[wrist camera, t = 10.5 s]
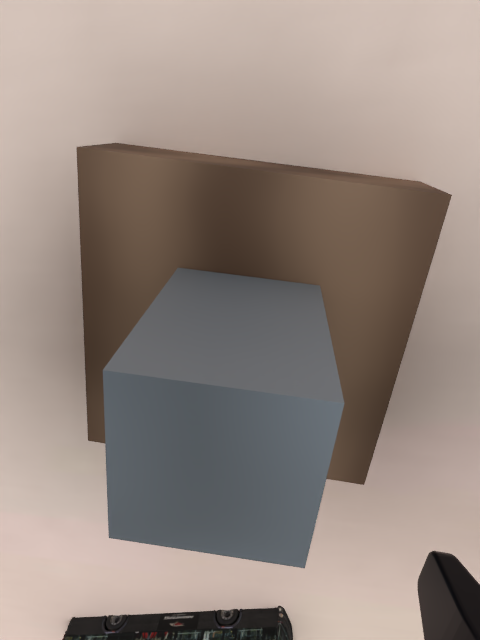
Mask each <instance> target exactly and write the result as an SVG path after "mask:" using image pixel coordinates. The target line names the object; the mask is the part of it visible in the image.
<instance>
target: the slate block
mask: <svg viewBox="0 0 480 640" xmlns="http://www.w3.org/2000/svg"><path fill="white" fill-rule="evenodd" d="M103 390H104V417H105V444H106V471H107V498H108V525H109V538H113V539H120V540H126V541H133V542H139V543H146V544H152V545H159V546H165V547H171V548H178V549H184V550H191V551H197V552H204V553H210V554H217V555H223V556H229V557H236V558H242V559H249V560H255V561H262V562H268V563H275V564H281V565H287V566H294V567H300V568H305V565H306V560H307V556H308V552H309V548H310V544H311V540H312V536H313V531H314V527H315V523H316V519H317V515H318V511H319V507H320V502H321V498H322V494H323V490H324V486H325V482H326V478H327V473H328V469H329V465H330V461H331V457H332V453H333V449H334V444H335V440H336V436H337V432H338V428H339V424H340V420H341V415H342V411H343V407H344V399H343V394H342V389H341V384H340V380H339V375H338V370H337V365H336V360H335V355H334V351H333V346H332V341H331V336H330V331H329V326H328V322H327V317H326V312H325V307H324V302H323V297H322V293H321V288H320V286H319V285H312V284H304V283H296V282H288V281H280V280H272V279H264V278H256V277H248V276H240V275H232V274H224V273H216V272H209V271H201V270H193V269H185V268H177V270H176V271H175V272H174V274H173V275H172V276H171V278H170V279H169V280H168V282H167V283H166V285H165V286H164V287H163V289H162V290H161V291H160V293H159V294H158V295H157V297H156V298H155V300H154V301H153V302H152V304H151V305H150V306H149V308H148V309H147V310H146V312H145V313H144V315H143V316H142V317H141V319H140V320H139V321H138V323H137V324H136V325H135V327H134V328H133V330H132V331H131V332H130V334H129V335H128V336H127V338H126V339H125V340H124V342H123V343H122V345H121V346H120V347H119V349H118V350H117V351H116V353H115V354H114V355H113V357H112V358H111V360H110V361H109V362H108V364H107V365H106V366H105V368H104V369H103Z"/></svg>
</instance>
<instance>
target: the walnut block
mask: <svg viewBox="0 0 480 640" xmlns="http://www.w3.org/2000/svg"><path fill="white" fill-rule="evenodd" d="M77 167H78V192H79V218H80V244H81V269H82V295H83V320H84V346H85V371H86V397H87V423H88V441H94V442H100V443H105V417H104V390H103V369H104V368H105V366H106V365H107V364H108V362H109V361H110V360H111V358H112V357H113V355H114V354H115V353H116V351H117V350H118V349H119V347H120V346H121V345H122V343H123V342H124V340H125V339H126V338H127V336H128V335H129V334H130V332H131V331H132V330H133V328H134V327H135V325H136V324H137V323H138V321H139V320H140V319H141V317H142V316H143V315H144V313H145V312H146V310H147V309H148V308H149V306H150V305H151V304H152V302H153V301H154V300H155V298H156V297H157V295H158V294H159V293H160V291H161V290H162V289H163V287H164V286H165V285H166V283H167V282H168V280H169V279H170V278H171V276H172V275H173V274H174V272H175V271H176V270H177V268H185V269H193V270H201V271H209V272H216V273H224V274H232V275H240V276H248V277H256V278H264V279H272V280H280V281H288V282H296V283H304V284H312V285H319V286H320V288H321V293H322V297H323V302H324V307H325V312H326V317H327V322H328V326H329V331H330V336H331V341H332V346H333V351H334V355H335V360H336V365H337V370H338V375H339V380H340V384H341V389H342V394H343V399H344V407H343V411H342V415H341V420H340V424H339V428H338V432H337V436H336V440H335V444H334V449H333V453H332V457H331V461H330V465H329V469H328V473H327V478H326V479H332V480H338V481H344V482H350V483H357V484H363V485H364V483H365V480H366V476H367V473H368V470H369V466H370V463H371V460H372V457H373V453H374V450H375V447H376V443H377V440H378V437H379V433H380V430H381V427H382V424H383V420H384V417H385V414H386V410H387V407H388V404H389V400H390V397H391V394H392V391H393V387H394V384H395V381H396V377H397V374H398V371H399V367H400V364H401V361H402V357H403V354H404V351H405V348H406V344H407V341H408V338H409V334H410V331H411V328H412V324H413V321H414V318H415V315H416V311H417V308H418V305H419V301H420V298H421V295H422V291H423V288H424V285H425V282H426V278H427V275H428V272H429V268H430V265H431V262H432V258H433V255H434V252H435V249H436V245H437V242H438V239H439V235H440V232H441V229H442V225H443V222H444V219H445V216H446V212H447V209H448V206H449V202H450V199H451V196H452V195H450V194H448V193H445V192H443V191H441V190H438V189H436V188H434V187H431V186H429V185H427V184H425V183H422V182H418V181H410V180H402V179H394V178H386V177H379V176H371V175H363V174H355V173H347V172H339V171H331V170H324V169H316V168H308V167H300V166H292V165H284V164H276V163H268V162H261V161H253V160H245V159H237V158H229V157H221V156H213V155H206V154H198V153H190V152H182V151H174V150H166V149H158V148H151V147H143V146H135V145H127V144H119V143H112V144H102V145H92V146H83V147H77Z"/></svg>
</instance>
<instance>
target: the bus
mask: <svg viewBox="0 0 480 640" xmlns="http://www.w3.org/2000/svg"><path fill="white" fill-rule="evenodd" d="M62 640H293V633H292V626H291V623H290V620H289V618H288V616H287V613H286V612H285V610H284V608H283V607H281V606H278V608H268V609H244V610H242V609H240V615H239V612H238V610H237V609H232V610H230V611H229V610H228V611H225V610H218V611H217V614H216V611H215V610H214V611H203V612H183V613H163V614H143V615H129V616H128V617H127V615H120V616H113V615H111V616H108V618H107V616H102V617H82V618H73V619H72V620H71V621H70V623H69V625H68V629H67V631H66V632H65V635H64V638H63V639H62Z"/></svg>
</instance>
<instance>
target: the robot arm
mask: <svg viewBox="0 0 480 640" xmlns="http://www.w3.org/2000/svg"><path fill="white" fill-rule="evenodd" d="M418 596H419V603H420V610H421V617H422V625H423V632H424V639H425V640H480V584H479V583H478V582H477V581H476V580H475V579H474V577H473V576H472V575H471V574H470V573H469V572H468V571H467V569H466V568H465V567H464V566H463V565H462V564H461V562H460V561H459V560H458V559H457V558H456V557H455V556H454V555H452V554H449V553H443V552H437V551H432V552H430V553H429V555H428V557H427V559H426V561H425V564H424V566H423V569H422V571H421V573H420V576H419V579H418Z"/></svg>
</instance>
